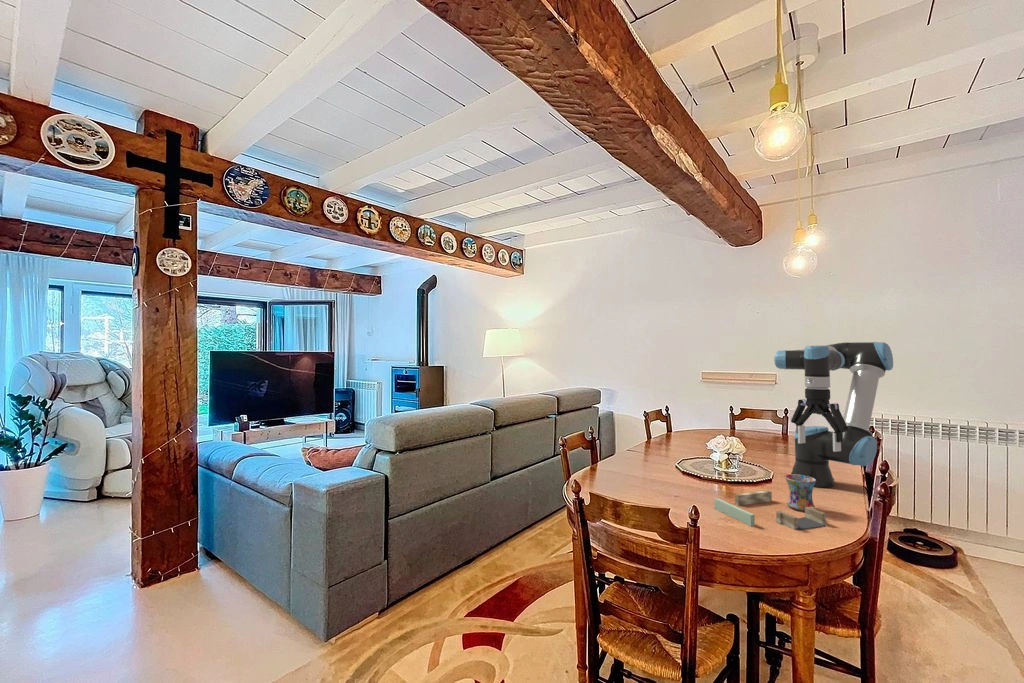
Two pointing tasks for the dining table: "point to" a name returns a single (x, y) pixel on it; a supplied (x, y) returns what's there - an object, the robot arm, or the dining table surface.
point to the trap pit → (808, 524)
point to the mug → (800, 491)
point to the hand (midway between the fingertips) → (818, 447)
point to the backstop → (735, 512)
